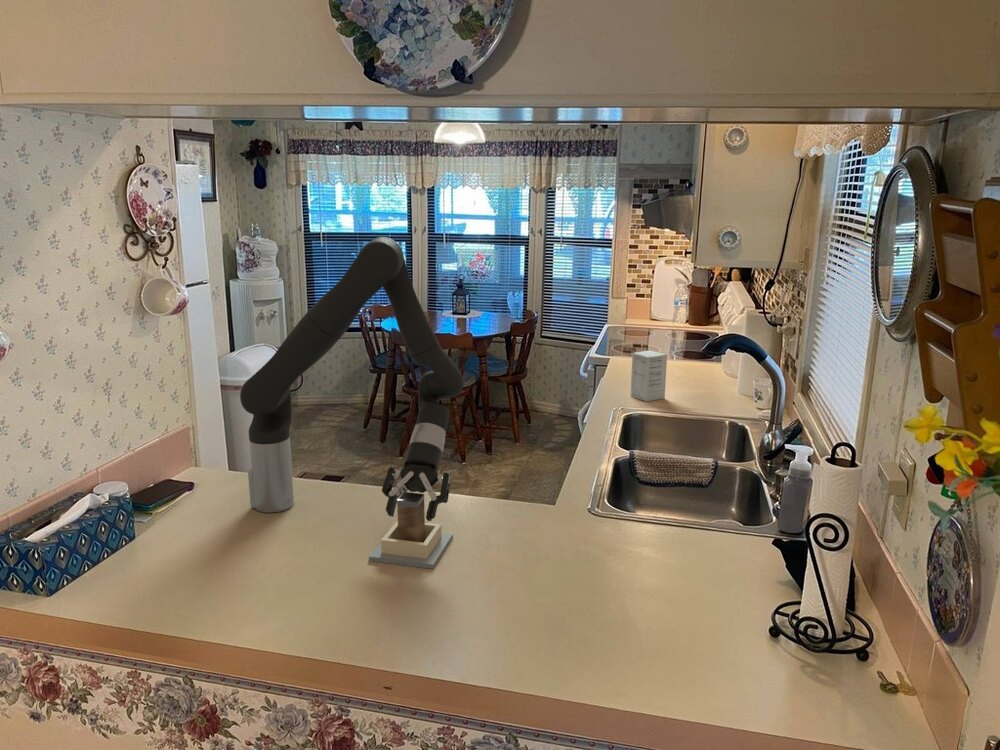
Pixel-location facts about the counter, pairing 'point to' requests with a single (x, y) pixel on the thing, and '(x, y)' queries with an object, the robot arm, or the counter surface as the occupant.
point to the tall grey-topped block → (411, 517)
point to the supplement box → (648, 375)
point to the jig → (412, 548)
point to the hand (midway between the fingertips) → (409, 517)
